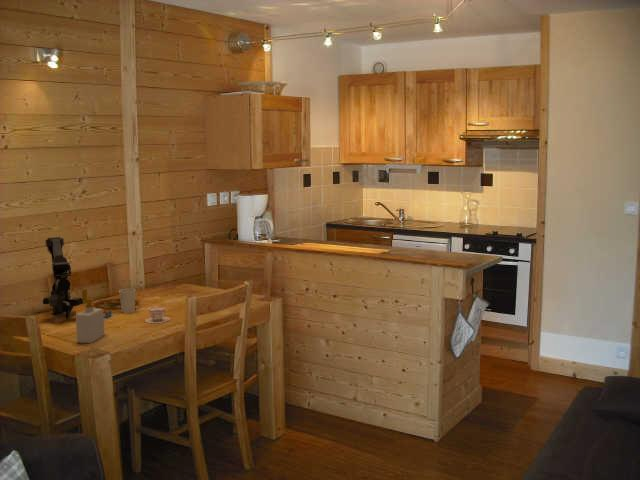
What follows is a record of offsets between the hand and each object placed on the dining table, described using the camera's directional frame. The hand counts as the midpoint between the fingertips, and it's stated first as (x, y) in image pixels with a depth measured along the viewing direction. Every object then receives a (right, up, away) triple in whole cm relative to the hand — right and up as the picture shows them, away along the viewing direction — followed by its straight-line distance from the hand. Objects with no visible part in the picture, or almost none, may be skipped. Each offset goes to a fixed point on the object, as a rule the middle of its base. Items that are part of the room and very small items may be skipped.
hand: (63, 318), depth 339 cm
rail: (0, -1, 0) cm, 2 cm away
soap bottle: (+23, -6, -31) cm, 39 cm away
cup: (+28, +1, +13) cm, 31 cm away
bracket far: (+17, 0, +3) cm, 17 cm away
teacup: (+45, -1, 0) cm, 46 cm away
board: (+16, -1, -1) cm, 16 cm away
